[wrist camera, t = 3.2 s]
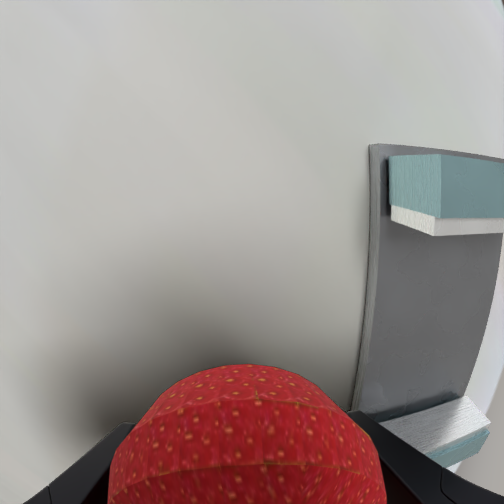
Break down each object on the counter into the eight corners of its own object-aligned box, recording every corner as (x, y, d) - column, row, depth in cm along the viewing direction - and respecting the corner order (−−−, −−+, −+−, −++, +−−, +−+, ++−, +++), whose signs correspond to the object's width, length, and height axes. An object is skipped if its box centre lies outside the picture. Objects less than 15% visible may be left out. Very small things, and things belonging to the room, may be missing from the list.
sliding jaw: (505, 217, 12) (554, 232, 8) (388, 219, 12) (438, 238, 8) (506, 168, 11) (556, 174, 8) (388, 156, 11) (440, 154, 8)
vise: (447, 408, 17) (480, 451, 12) (344, 437, 16) (367, 495, 12) (493, 158, 12) (559, 163, 8) (369, 145, 12) (433, 136, 7)
